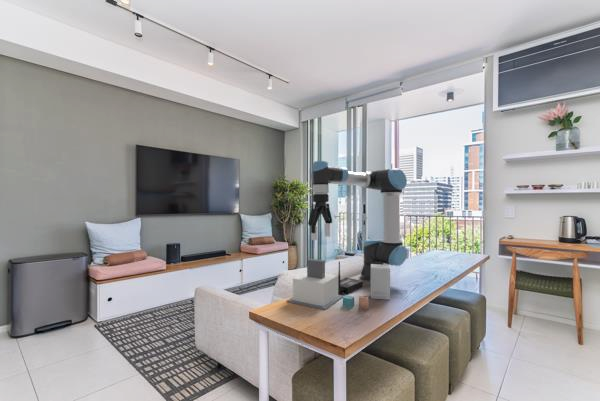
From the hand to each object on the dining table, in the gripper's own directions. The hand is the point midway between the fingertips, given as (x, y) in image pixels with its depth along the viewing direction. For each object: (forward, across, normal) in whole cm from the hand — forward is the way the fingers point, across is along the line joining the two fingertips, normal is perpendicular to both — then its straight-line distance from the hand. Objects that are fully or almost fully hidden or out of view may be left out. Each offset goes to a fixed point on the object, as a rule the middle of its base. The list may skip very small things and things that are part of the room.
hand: (321, 238), depth 140 cm
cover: (+28, +2, -2) cm, 28 cm away
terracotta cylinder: (+29, +2, +22) cm, 36 cm away
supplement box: (+30, -18, +23) cm, 42 cm away
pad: (+29, +2, -2) cm, 29 cm away
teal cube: (+29, +2, +15) cm, 33 cm away
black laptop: (+30, -19, +4) cm, 36 cm away
